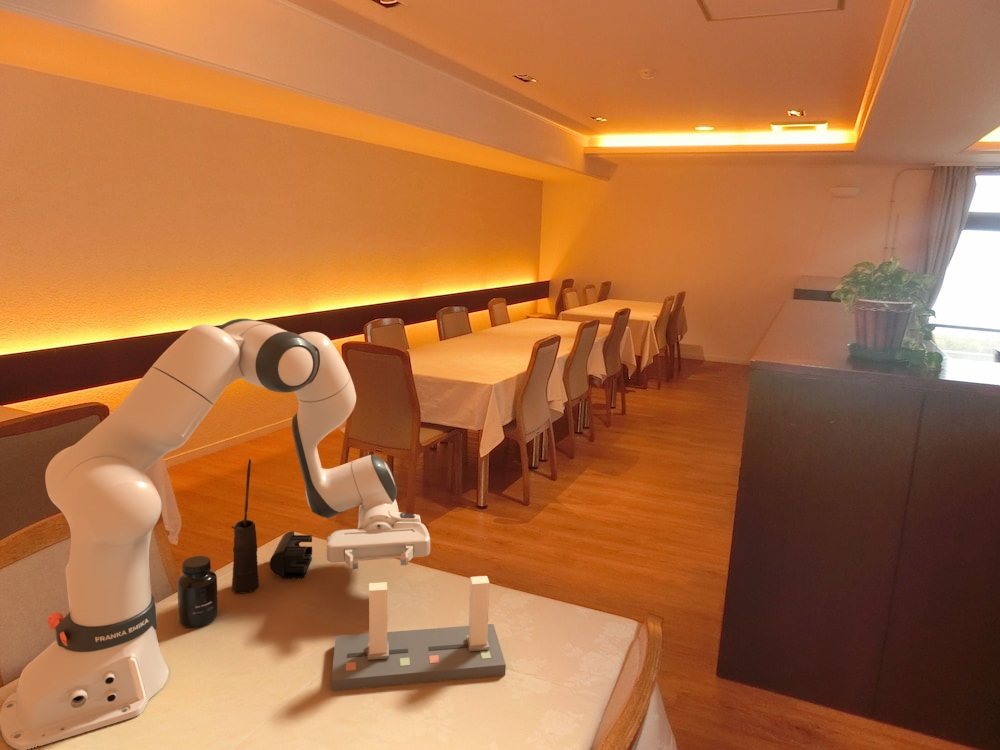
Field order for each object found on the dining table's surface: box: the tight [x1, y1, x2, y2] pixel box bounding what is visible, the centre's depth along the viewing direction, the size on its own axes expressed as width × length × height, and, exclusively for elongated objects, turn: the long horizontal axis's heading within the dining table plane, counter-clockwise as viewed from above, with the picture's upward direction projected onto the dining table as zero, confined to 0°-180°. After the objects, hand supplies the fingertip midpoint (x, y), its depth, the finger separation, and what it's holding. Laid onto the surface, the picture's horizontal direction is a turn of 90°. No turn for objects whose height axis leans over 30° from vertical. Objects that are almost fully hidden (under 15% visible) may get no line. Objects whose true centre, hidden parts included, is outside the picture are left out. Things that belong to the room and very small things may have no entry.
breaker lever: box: [466, 575, 490, 651], centre depth 114 cm, size 4×4×12 cm
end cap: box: [269, 530, 313, 580], centre depth 142 cm, size 10×7×7 cm
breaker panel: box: [330, 623, 507, 692], centre depth 113 cm, size 29×12×2 cm, turn 101°
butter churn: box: [231, 458, 259, 594], centre depth 130 cm, size 9×10×28 cm
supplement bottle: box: [176, 555, 219, 629], centre depth 122 cm, size 7×7×12 cm
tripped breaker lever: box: [368, 581, 389, 660], centre depth 110 cm, size 4×4×12 cm
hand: (379, 563), depth 121 cm, fingers open, 8 cm apart
